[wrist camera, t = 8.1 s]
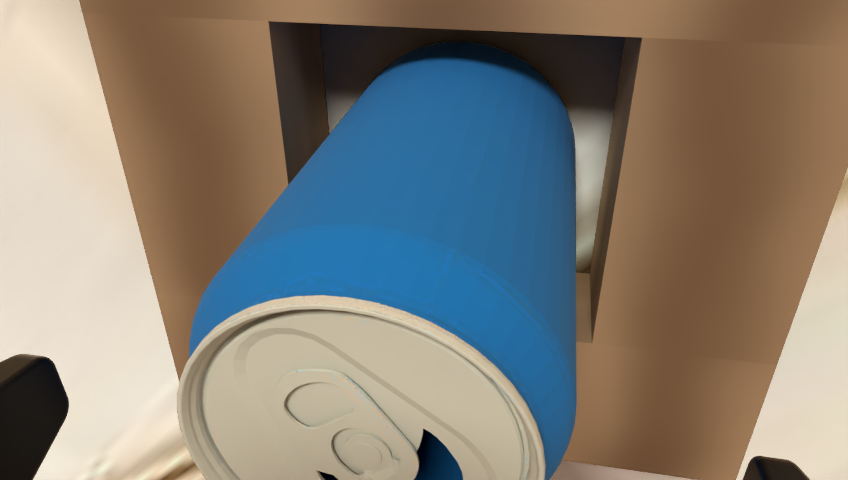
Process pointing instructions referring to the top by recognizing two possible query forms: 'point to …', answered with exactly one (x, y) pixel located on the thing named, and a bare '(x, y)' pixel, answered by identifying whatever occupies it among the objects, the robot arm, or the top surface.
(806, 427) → the top surface
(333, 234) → the beverage can
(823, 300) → the top surface
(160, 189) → the can holder
